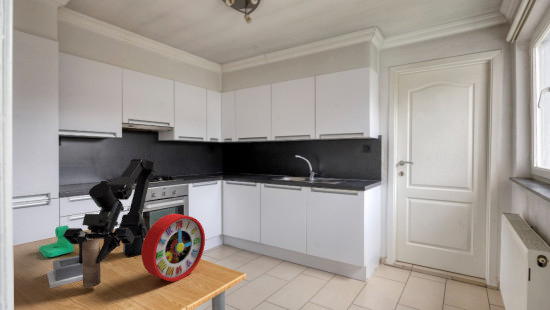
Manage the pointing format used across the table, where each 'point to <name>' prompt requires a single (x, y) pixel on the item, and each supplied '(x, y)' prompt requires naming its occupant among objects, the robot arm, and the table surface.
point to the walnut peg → (91, 263)
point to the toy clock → (173, 247)
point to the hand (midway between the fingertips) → (88, 263)
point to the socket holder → (65, 271)
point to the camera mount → (57, 244)
